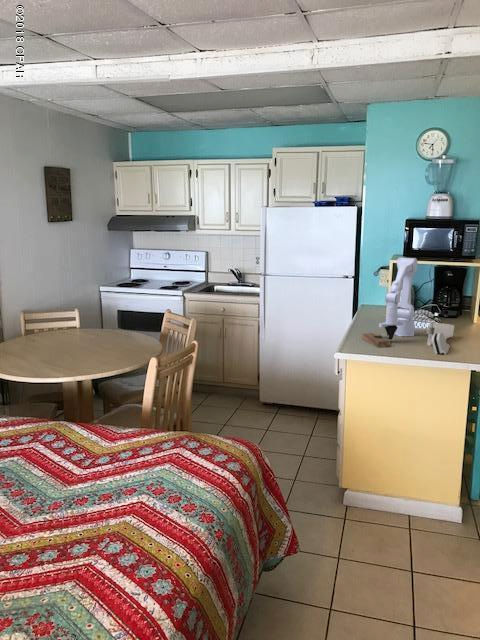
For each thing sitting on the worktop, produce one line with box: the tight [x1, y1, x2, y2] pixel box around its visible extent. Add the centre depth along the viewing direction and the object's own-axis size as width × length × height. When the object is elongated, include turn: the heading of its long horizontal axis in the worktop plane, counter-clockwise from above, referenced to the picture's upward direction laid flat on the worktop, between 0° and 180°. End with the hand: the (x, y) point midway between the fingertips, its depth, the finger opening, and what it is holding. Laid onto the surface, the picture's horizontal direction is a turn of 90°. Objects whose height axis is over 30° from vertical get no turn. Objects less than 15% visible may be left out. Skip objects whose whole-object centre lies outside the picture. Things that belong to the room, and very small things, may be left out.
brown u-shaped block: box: [361, 332, 391, 348], centre depth 285 cm, size 7×18×3 cm, turn 14°
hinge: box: [431, 333, 451, 356], centre depth 269 cm, size 17×5×10 cm, turn 152°
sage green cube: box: [378, 333, 390, 341], centre depth 287 cm, size 4×4×4 cm
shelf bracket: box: [426, 322, 455, 347], centre depth 288 cm, size 6×25×13 cm, turn 134°
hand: (390, 339), depth 287 cm, fingers closed
